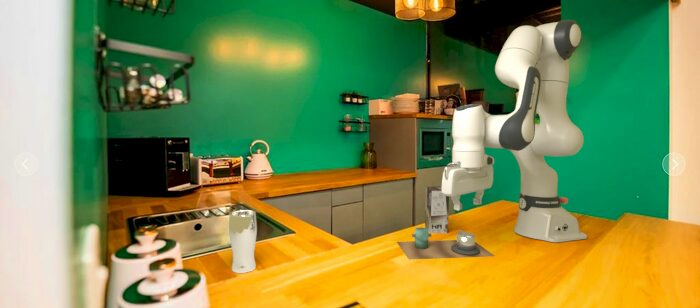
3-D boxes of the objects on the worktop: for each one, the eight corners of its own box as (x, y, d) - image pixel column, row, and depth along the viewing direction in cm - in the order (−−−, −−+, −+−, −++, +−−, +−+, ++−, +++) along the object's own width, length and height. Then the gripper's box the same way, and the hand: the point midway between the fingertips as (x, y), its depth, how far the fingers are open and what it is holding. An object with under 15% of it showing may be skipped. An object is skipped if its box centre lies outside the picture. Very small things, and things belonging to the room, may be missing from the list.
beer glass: (242, 276, 81) (240, 217, 80) (224, 270, 85) (222, 213, 84) (263, 266, 87) (262, 211, 86) (245, 261, 91) (244, 208, 90)
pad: (471, 245, 101) (471, 243, 100) (484, 255, 93) (485, 253, 93) (446, 246, 100) (446, 244, 100) (458, 256, 92) (458, 254, 92)
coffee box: (448, 236, 112) (449, 190, 111) (430, 236, 113) (431, 190, 111) (441, 228, 121) (442, 185, 120) (424, 228, 122) (425, 185, 120)
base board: (471, 243, 106) (472, 223, 105) (495, 260, 92) (495, 237, 91) (396, 245, 103) (396, 225, 103) (408, 263, 89) (409, 240, 89)
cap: (478, 249, 96) (478, 233, 95) (467, 252, 93) (468, 236, 92) (463, 244, 100) (463, 228, 99) (453, 247, 97) (453, 231, 96)
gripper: (454, 164, 86) (454, 215, 87) (497, 158, 98) (496, 203, 99) (435, 162, 91) (436, 211, 92) (478, 156, 103) (478, 199, 104)
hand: (467, 207), depth 96 cm, fingers open, 8 cm apart
